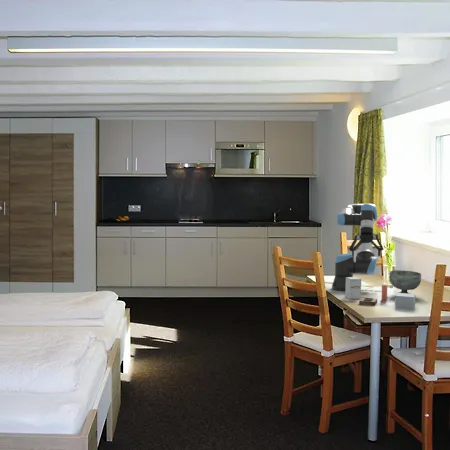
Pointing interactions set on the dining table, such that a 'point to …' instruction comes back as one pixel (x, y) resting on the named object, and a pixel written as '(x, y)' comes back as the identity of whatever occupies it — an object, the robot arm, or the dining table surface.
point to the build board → (368, 301)
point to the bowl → (405, 280)
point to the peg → (384, 293)
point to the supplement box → (353, 288)
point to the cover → (405, 301)
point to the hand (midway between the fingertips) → (366, 261)
